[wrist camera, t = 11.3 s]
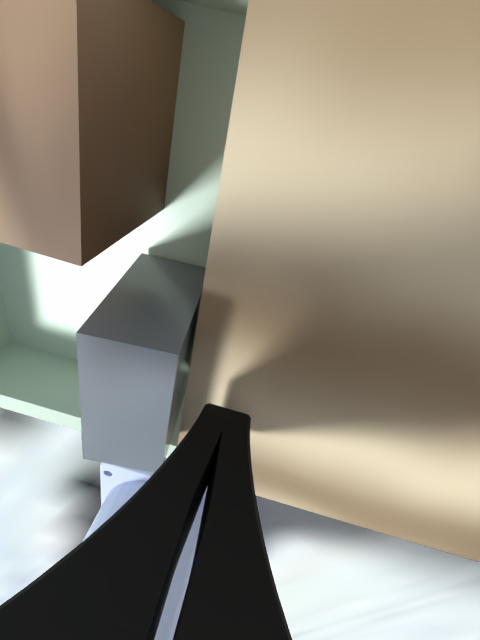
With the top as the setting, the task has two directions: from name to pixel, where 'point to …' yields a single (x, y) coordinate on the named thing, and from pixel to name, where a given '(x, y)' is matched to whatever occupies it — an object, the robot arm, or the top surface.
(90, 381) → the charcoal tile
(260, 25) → the oak bench
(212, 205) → the bin
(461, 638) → the top surface
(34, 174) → the walnut tile
